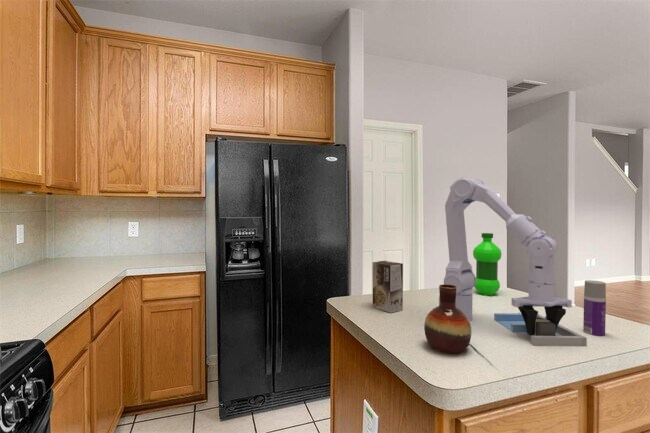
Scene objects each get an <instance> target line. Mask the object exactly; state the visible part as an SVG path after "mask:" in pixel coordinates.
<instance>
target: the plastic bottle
mask: <svg viewBox="0 0 650 433" xmlns="http://www.w3.org/2000/svg"><path fill="white" fill-rule="evenodd" d="M481 238H482V242H480V243H479V244H478V245H476V246H475V247H474V248H473V250H472V255H473V258H474V259H475V260H476V262H475V263H476V265H475V266H476V267H475V268H476V269H475V270H476V271H475V272H476V273H475V274H476V275H475V277H476V284H475V286H474V287H473V288H474V289H475V290H476V291H477V292H478V293H479V294H480V295H482V296H494V294H496V293H497V292H498V291H499V290H500V288H501V283H500V281H499V279H498V275H499V274H498V273H499V270H498V266H499V265H498V264H499V261H500V260H501V258H502V250H501V249H500V248H499V246H497V244H495V243H494V242H492V239H493V238H494V233H492V232H481Z"/></svg>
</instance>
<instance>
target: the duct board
mask: <svg viewBox="0 0 650 433" xmlns="http://www.w3.org/2000/svg"><path fill="white" fill-rule="evenodd" d="M493 314H494V315H493V321H495V322H496V323H498V324H500V325H501V326H503V327H504V328H505V329H507V330H509V331H510V332H512V333H513V334H515V335H516V336H518V337H520V338H521V339H522V340H524V341H526V342H527V343H528V344H530V345H531V346H535V347H538V346H539V347H541V346H542V347H587V345H588V343H587V341H588V340H587V338H588V337H586V336H584V335H582V334H579V332H575V331H573V330H572V329H569V328H567V327H565V326H563V325H561V324H560V323H559V324H558V326H557V329H556V332H555V336H530V335H529V334H527V329H526V325H525V322H524V319H523V316H522V314H521V312H519V313H518V312H517V313H514V312H513V313H509V312H508V313H505V312H502V313H501V312H500V313H499V312H497V313H496V312H494V313H493ZM537 317H541V318H543V319H546V315H545V316H543V315H541V314H539V313H538V314H537Z"/></svg>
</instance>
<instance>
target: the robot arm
mask: <svg viewBox="0 0 650 433" xmlns="http://www.w3.org/2000/svg"><path fill="white" fill-rule="evenodd" d="M449 189H450V192H449V194H448V196H447V199H446V201H445V205H444V212H445V224H446V236H447V246H448V258H449V259H448V260H449V261H448V262H449V263H448V264H447V266H446V268H445V275H444V278H443V284H447V285H454V286H456V287H457V290H456V308H458V309H460V310H461V311H462V312H463V313H464V314H465V315H466V316H467V318H468V320H469V322H470V323H471V322H472V321H473V299H474V298H473V294H474V293H473V288H475V287H474V286H475V284H476V275H475V273H474V272H473V266H472V264H471V263H470V261H469V258H468V257H469V256H468V247H467V243H468V242H467V234H466V233H467V232H466V222H465V210H466V209H467V208H468V207H469V206H470V205H471V204H472V203H474V202H481V203H483V204H485V205H486V206H488V207H489V208H490V209H491V210H492V211H493V212H495V213H496V215H498V216H499V217H500V218H501V219H502V220H503V221H504V222H505V227H506V228H505V229H506V230H507V231H508V232H509V233H510V234H511V236H513V237H514V238H515V239H516V240H517V241H518V242H519V243H520V244H521V245H523V246H524V247H525V250H526V254H528V256H529V263H528V296H522V297H521V296H520V297H511V306H513V307H514V308H517V309H518V310H519V313H521V314H522V316H523V319H524V322H525V325H526V329H527V333H529V334H530V335H534V334H535V321H536V317H537V314H539V311H538V310H536V309H535V307H542V308H543V307H544V311H545V316H546V320H548V321H550V322H551V323H553V324H555V325H556V329H557V326H558V324H559V325H560V322H561V320H562V319H563V318H564V316H565V315H566V313H567V309H565V308H563V307H566V308H572V307H573V306H572V304H573V302H572V299H570V298H567V297H565V298H564V297H555V295H556V294H555V293H556V292H555V290H556V286H555V285H556V284H555V282H556V265H555V262H556V258H555V257H556V256H555V255H556V254H557V251H558V249H559V248H558V242H556V240H555V239H554V237H552V236H550V235H547V232H546V231H545V230H541V229H540V228H539V227H538V226H537V225H535V224H534V222H532V221H533V218H532V217H531V216H528V215H527V216H526V215H525V214H523V213H521V214H517V213H516V212H515V211H514V210H513V209H512V208H511V207H510V206H509V205H507V203H506V202H505V201H504V200H503V199H502V198H501V197H500V196H499V195H498V194H497V193H496V192H495V191H494V190H493V189H492V188H491V187H490V186H489V185H487V184H485V183H484V181H483V180H480V179H477V178H468V177H464V176H463V177H460V178H458V179H456V180H455V181H454V182H453V183H452V184H451V185H450V187H449ZM439 305H440V294H439V296H438V306H439ZM555 332H556V331H555Z"/></svg>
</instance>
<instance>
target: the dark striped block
mask: <svg viewBox="0 0 650 433" xmlns="http://www.w3.org/2000/svg"><path fill="white" fill-rule="evenodd" d="M555 331H556V325H555V324H553V323H551V322H550V321H548V320H546V319H543V318H541V317H536V321H535V334H534V335H530V334H529V333H527V334H529V335H530V336H555Z"/></svg>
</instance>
